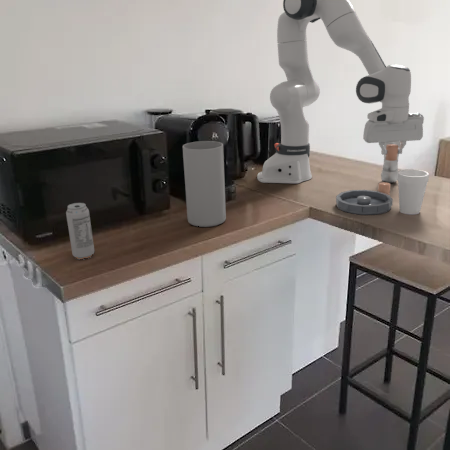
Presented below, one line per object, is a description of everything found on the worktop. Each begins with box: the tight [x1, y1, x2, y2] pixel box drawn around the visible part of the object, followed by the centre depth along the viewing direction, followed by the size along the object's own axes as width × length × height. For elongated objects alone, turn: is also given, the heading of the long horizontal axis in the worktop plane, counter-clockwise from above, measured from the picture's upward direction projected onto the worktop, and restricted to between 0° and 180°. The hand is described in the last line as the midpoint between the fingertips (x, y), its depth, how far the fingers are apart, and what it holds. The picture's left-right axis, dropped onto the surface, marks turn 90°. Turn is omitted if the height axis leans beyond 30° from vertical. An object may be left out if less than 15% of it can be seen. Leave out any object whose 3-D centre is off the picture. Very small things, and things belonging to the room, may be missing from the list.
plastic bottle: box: [380, 141, 401, 183], centre depth 196 cm, size 6×7×20 cm
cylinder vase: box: [182, 140, 227, 228], centre depth 162 cm, size 12×12×25 cm
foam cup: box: [397, 168, 430, 216], centre depth 166 cm, size 10×9×13 cm
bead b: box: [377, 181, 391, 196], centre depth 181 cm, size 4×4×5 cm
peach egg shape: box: [385, 144, 398, 161], centre depth 180 cm, size 4×4×5 cm
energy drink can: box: [65, 202, 95, 258], centre depth 141 cm, size 6×6×15 cm
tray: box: [335, 189, 393, 216], centre depth 174 cm, size 18×18×3 cm
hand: (391, 153), depth 180 cm, fingers closed on peach egg shape, 4 cm apart
